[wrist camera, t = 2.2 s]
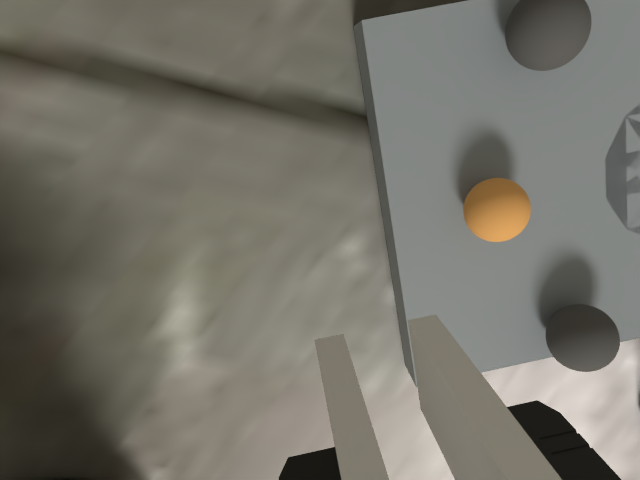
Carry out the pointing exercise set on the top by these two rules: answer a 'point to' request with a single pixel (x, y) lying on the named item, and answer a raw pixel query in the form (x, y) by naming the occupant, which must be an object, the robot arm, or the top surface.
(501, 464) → the robot arm
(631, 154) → the plate
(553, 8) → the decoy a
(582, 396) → the top surface
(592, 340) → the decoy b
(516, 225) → the ball
